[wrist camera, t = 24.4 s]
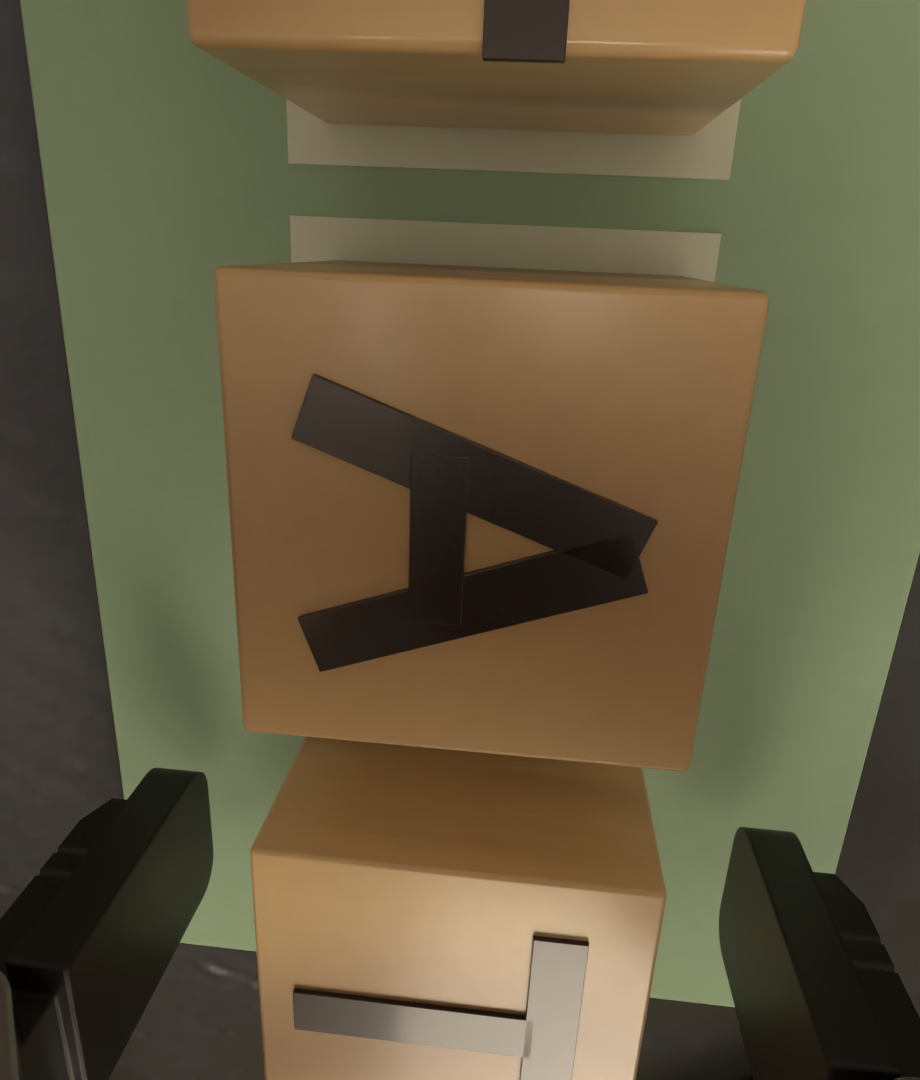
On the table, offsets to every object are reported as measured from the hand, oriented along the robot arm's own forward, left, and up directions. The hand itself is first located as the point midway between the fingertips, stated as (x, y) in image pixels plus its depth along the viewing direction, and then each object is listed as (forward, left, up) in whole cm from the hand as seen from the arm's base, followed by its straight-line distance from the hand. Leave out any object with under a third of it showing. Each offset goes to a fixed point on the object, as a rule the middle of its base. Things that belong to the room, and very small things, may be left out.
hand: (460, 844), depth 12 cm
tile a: (-6, 0, -1) cm, 6 cm away
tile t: (0, 0, -1) cm, 1 cm away
